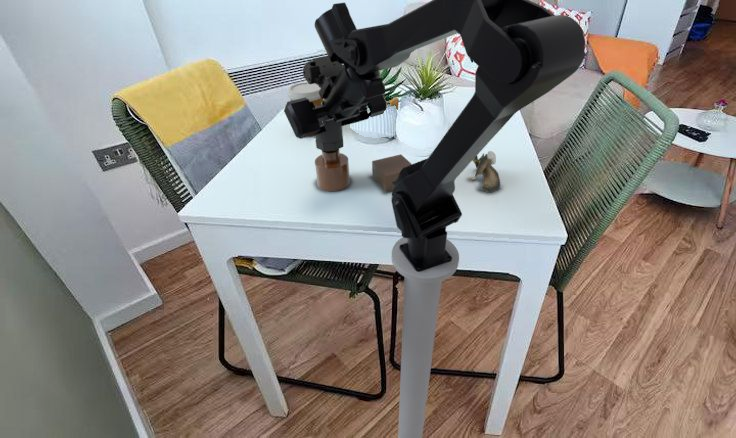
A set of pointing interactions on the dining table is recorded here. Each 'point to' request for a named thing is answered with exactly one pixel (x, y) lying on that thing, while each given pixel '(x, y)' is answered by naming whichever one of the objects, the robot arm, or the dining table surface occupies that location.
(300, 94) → the disposable coffee cup
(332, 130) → the cap
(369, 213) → the dining table surface
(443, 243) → the robot arm
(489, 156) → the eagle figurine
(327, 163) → the bottle
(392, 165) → the stand
